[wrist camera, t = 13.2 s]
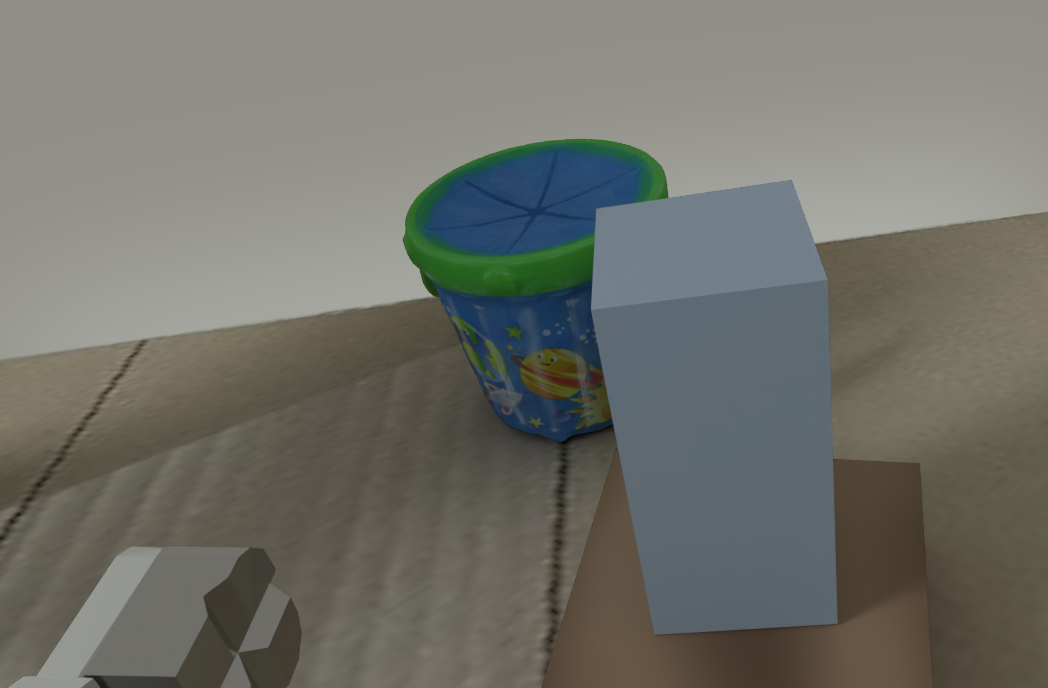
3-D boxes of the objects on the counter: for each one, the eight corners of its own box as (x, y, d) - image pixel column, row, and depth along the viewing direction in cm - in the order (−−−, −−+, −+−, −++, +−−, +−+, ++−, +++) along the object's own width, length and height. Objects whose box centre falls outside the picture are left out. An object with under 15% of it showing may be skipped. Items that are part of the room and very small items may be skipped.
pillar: (654, 634, 26) (591, 310, 20) (650, 509, 30) (596, 208, 24) (837, 623, 25) (828, 279, 19) (807, 495, 29) (791, 179, 23)
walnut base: (565, 772, 28) (539, 693, 25) (631, 526, 35) (615, 448, 33) (928, 838, 24) (936, 752, 22) (915, 548, 32) (919, 463, 29)
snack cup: (788, 397, 39) (777, 178, 33) (608, 542, 34) (560, 315, 29) (551, 289, 50) (512, 111, 44) (391, 387, 45) (326, 202, 40)
